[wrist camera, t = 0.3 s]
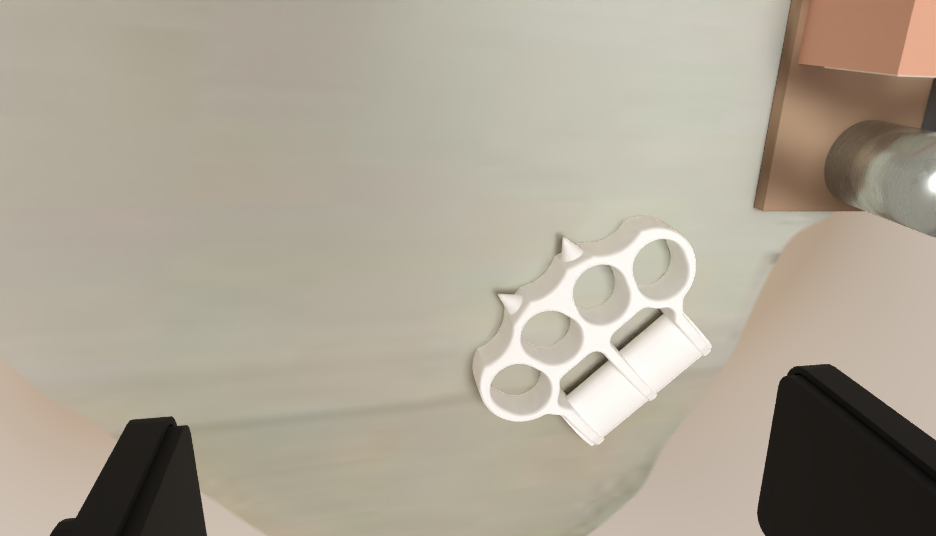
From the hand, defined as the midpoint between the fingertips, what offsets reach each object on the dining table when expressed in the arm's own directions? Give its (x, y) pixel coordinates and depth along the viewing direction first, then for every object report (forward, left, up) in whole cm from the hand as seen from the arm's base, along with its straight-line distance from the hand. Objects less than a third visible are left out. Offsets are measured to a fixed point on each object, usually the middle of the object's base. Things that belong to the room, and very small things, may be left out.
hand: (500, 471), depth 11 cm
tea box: (-7, +30, -35) cm, 47 cm away
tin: (+2, +33, -35) cm, 48 cm away
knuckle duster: (+14, +15, -37) cm, 42 cm away
